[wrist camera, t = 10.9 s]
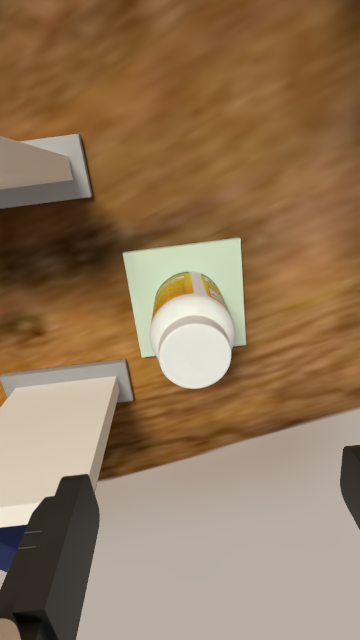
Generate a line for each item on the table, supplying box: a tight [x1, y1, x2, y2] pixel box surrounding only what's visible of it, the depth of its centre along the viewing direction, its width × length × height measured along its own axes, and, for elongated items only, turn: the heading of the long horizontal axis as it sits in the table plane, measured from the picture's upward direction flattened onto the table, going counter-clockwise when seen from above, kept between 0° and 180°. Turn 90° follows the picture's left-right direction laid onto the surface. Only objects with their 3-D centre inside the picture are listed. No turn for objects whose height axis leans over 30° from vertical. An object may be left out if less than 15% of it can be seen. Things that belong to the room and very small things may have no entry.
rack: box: [0, 134, 134, 528], centre depth 21 cm, size 22×11×13 cm, turn 7°
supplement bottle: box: [150, 271, 235, 389], centre depth 23 cm, size 5×5×10 cm
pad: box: [123, 238, 246, 357], centre depth 27 cm, size 9×9×1 cm
